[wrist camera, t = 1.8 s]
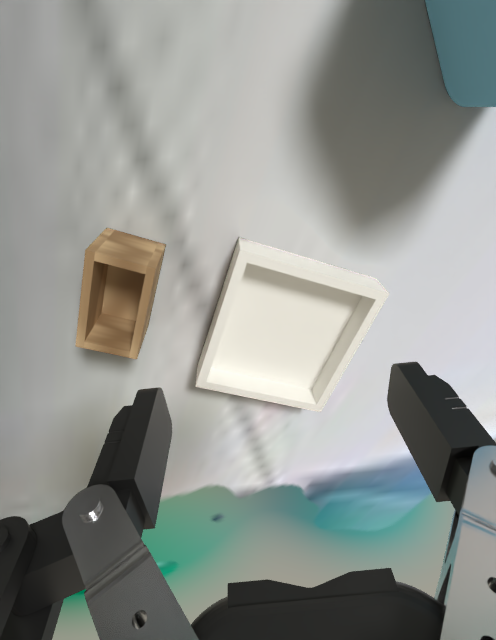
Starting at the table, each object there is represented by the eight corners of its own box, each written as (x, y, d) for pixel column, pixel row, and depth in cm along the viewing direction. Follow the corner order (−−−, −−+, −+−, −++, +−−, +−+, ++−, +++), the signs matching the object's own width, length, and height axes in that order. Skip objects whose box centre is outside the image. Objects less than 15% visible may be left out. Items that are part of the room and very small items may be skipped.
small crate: (95, 313, 31) (75, 346, 27) (106, 227, 28) (85, 249, 23) (148, 325, 32) (136, 359, 28) (165, 244, 29) (155, 268, 24)
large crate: (197, 366, 35) (195, 386, 32) (238, 236, 29) (240, 249, 26) (314, 391, 38) (320, 412, 35) (375, 278, 31) (389, 293, 29)
